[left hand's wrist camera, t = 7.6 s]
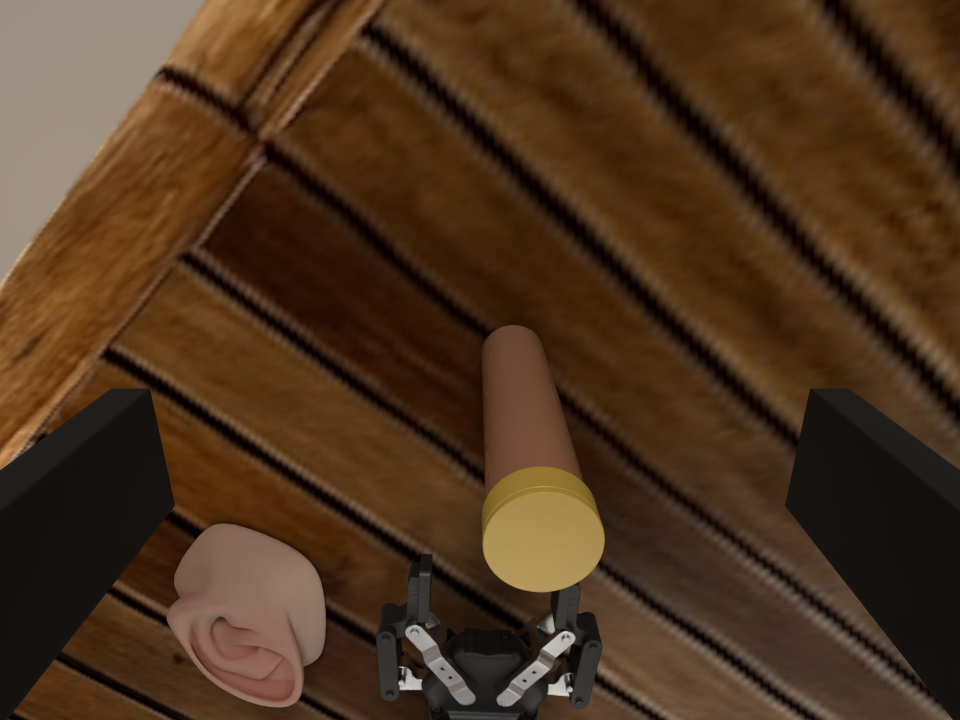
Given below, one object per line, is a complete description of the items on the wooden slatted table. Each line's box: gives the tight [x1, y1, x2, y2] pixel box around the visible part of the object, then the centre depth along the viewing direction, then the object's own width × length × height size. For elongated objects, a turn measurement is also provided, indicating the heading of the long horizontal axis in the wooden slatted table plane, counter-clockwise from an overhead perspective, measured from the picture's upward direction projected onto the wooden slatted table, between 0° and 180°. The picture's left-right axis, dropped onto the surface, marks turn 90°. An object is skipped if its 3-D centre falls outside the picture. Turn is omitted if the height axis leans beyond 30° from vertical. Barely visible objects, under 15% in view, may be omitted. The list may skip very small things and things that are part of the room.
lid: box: [482, 467, 605, 592], centre depth 23 cm, size 4×4×2 cm
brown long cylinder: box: [481, 325, 585, 498], centre depth 31 cm, size 4×4×18 cm
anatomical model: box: [167, 524, 326, 707], centre depth 44 cm, size 13×4×12 cm
